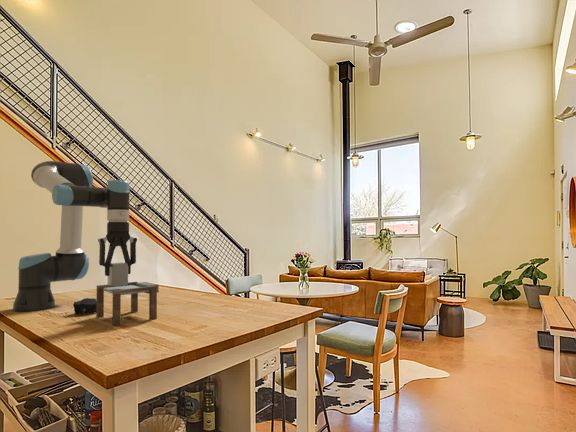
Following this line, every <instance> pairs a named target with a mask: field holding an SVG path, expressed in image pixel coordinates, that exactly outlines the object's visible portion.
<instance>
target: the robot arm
mask: <svg viewBox="0 0 576 432" xmlns="http://www.w3.org/2000/svg"><path fill="white" fill-rule="evenodd" d="M30 176H31V180H32V182H34V184H35V185H37V186H38V187H40V188H43V189H46V190H47V191H49V192H50V193H51V198H52V201H53V204H54V205H58V206H61V212H60V213H61V216H60V238H59V239H60V241H59V248H58V249H56V251H55V255H52V254H51V253H50V252H44V253H36V254H30V255H25V256H22V257H20V259H19V260H18V261H19V262H18V269H17V270H18V287H17V288H18V291H17V294H16V296H15V300H14V302H13V305H12V311H14V312H31V311H42V310H46V309H50V308H53V307H55V306H56V300H55V298H54V297H55V296H54V295H53V292H52V290H51V283H53V282H54V283H55V282H64V281H66V282H67V281H75V280H76V281H77V280H81V279H83V278H85V276H86V275H87V274H88V272H89V271H88V270H89V267H90V258H89V256H88V254H86V252H85V250H84V249H83V248H82V236H83V216H84V213H83V212H84V207H93V208H96V207H97V208H101V209H102V208H105V209H106V208H107V210H106V213H107V215H106V220H107V223H106V234H105V237H102V238H98V239H97V242H98V243H99V259H98V263H99V266H102V267H104V275H105V277H107V284H106V285H112V267H110V264H111V263H112V261H113V260H112V259H113V256H114V252H115V249H116V247H120V249H121V252H122V255H123V260H124V263H128V275H131V271H132V270H131V267H132V265H135V264H136V263H137V256H136V255H137V251H136V250H137V241H138V238H137V237H133V236H131V234H130V223H129V221H130V192H131V190H130V183H129V182H128V181H127V180H121V179H110V180H108V181H107V184H106V185H107V186H106V187H97V186H96V187H95V186H93V185H94V177H93V172H92V170H91V168H90V167H89V166H88V165H86V164H81V163H73V162H64V161H55V160H48V161H47V160H46V161H42V162H40V163H37V164H36V165H35V166H34V167H33V168H32V170H31V175H30ZM107 242H108V243H109V245H108V252H107V255H106V243H107ZM128 242H129V245H130V246H129V251H130V252H129V251H128V245H127V243H128ZM129 253H130V254H129Z"/></svg>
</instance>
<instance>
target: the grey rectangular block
mask: <svg viewBox="0 0 576 432" xmlns="http://www.w3.org/2000/svg"><path fill="white" fill-rule="evenodd" d="M110 267H112V285H110V286H120V287H121V286H123V285H128V282H129V274H128V263H125V262H111V264H110Z"/></svg>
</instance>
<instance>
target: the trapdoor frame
mask: <svg viewBox="0 0 576 432" xmlns="http://www.w3.org/2000/svg"><path fill="white" fill-rule="evenodd" d="M136 283H139V282H138V281H128V285H123V286H130V285H135V286H136ZM111 287H121V286H110V285H107V284H100V285H99V284H98V285H96V299H97V304H96V313H95V315H96V318H97V317H98V318H97V319H99V317H101V318H104V317H105V314H104V312H105V311H104V310H105V309H104V308H105V307H104V306H105V301H104V299H105V298H104V297H105V291H104V288H111ZM145 290H149V294H148V296H149V298H148V300H149V303H148V306H149V307H148V314H149V315H148V319H149V320H152V321H153V320H157V319H158V317H157V316H158V315H157V314H158V313H157V312H158V304H157V302H158V293H157V286H148V287H140V288H131V289H122V290H113V294H112V324H111V325H112V326H113V327H119V326H121V324H122V323H121V314H122V312H121V308H122V307H121V304H122V302H121V301H122V300H121V296H122V295H121V293H128V292H136V291H145ZM138 302H139V293H134V294H130V313H137V312H139V303H138ZM118 325H119V326H118Z"/></svg>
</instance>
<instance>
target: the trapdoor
mask: <svg viewBox="0 0 576 432" xmlns="http://www.w3.org/2000/svg"><path fill="white" fill-rule="evenodd" d="M159 285H160V284H159V283H158V284H157V283H152V282H148V281H142V282H141V281H140V282H138V283H136V286H135V285H129V286H120V287H110V288H104V292H106V293H110V294H112V295H113V290H122V289H131V288H140V287H148V286H157V294H158V293H159V292H160V291H159V289H160V286H159ZM134 293H138V294H140V293H141V294H142V293H144V294H147V295H149V290H145V291H136V292H128V293H121V296H124V295H125V296H126V295H131V294H134Z"/></svg>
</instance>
